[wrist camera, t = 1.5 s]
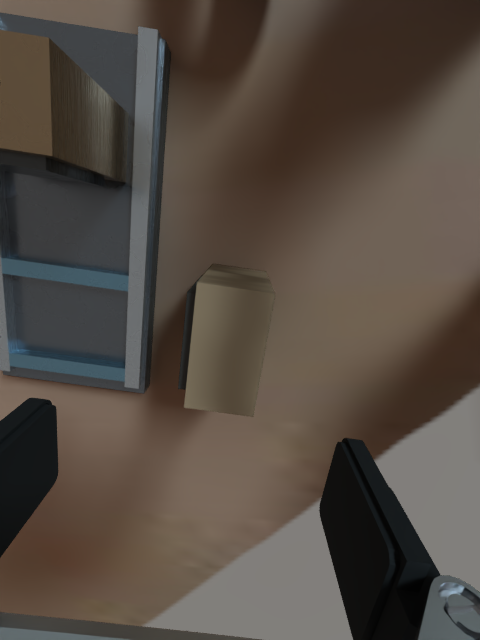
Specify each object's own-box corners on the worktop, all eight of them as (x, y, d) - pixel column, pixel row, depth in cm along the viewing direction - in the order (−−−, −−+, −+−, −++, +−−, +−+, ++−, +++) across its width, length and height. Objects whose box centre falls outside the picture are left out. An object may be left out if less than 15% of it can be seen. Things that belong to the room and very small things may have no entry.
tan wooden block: (196, 351, 28) (174, 406, 20) (205, 262, 26) (186, 280, 17) (251, 358, 28) (253, 416, 20) (265, 271, 26) (275, 293, 17)
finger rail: (170, 52, 22) (104, -101, 11) (149, 384, 29) (97, 469, 19) (-10, 23, 21) (-241, -160, 11) (16, 366, 29) (-109, 442, 19)
